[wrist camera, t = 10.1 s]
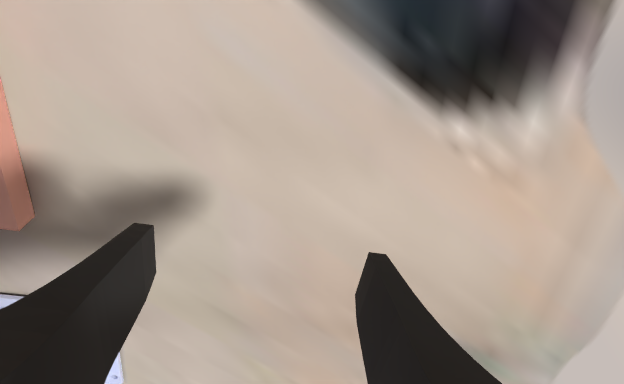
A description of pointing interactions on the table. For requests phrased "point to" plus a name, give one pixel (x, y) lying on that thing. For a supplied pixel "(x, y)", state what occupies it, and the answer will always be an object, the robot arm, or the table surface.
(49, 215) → the table surface
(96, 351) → the robot arm
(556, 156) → the table surface
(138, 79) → the table surface
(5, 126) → the board
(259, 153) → the table surface
